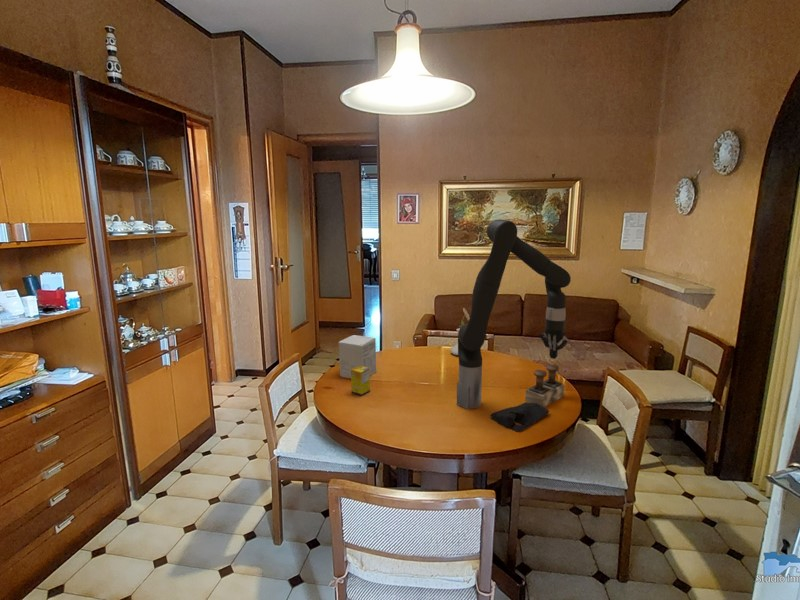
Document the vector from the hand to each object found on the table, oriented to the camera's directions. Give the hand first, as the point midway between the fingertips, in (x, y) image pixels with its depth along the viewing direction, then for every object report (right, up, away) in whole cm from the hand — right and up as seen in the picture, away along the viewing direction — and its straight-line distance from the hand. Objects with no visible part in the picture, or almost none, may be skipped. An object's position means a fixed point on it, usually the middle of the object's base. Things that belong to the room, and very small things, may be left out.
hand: (553, 358), depth 180 cm
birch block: (-3, -17, +1) cm, 17 cm away
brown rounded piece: (-7, -12, -3) cm, 14 cm away
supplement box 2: (-81, -16, +10) cm, 83 cm away
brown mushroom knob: (0, -10, +2) cm, 11 cm away
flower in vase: (-30, -5, +57) cm, 65 cm away
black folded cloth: (-17, -21, -14) cm, 31 cm away
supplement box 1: (-84, -12, +30) cm, 90 cm away
